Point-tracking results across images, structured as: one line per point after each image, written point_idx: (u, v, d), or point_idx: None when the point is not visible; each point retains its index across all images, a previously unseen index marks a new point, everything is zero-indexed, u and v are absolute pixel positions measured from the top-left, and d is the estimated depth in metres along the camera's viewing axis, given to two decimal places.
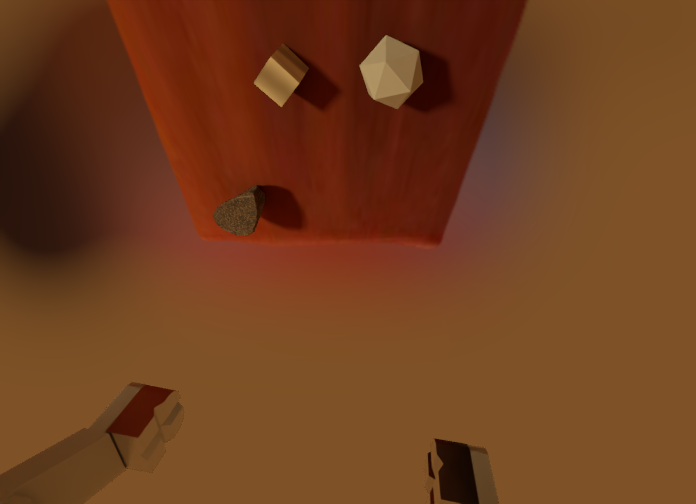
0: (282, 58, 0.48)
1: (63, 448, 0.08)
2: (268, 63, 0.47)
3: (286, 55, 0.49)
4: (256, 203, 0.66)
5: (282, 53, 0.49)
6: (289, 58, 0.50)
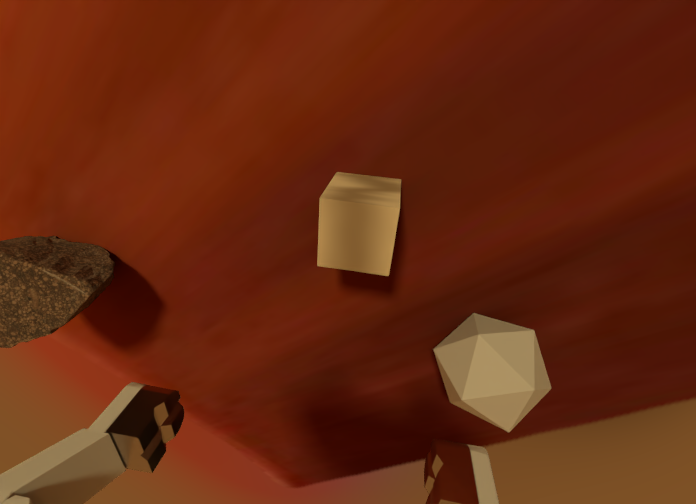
0: None
1: (63, 448, 0.08)
2: (383, 209, 0.20)
3: None
4: (79, 309, 0.28)
5: None
6: None
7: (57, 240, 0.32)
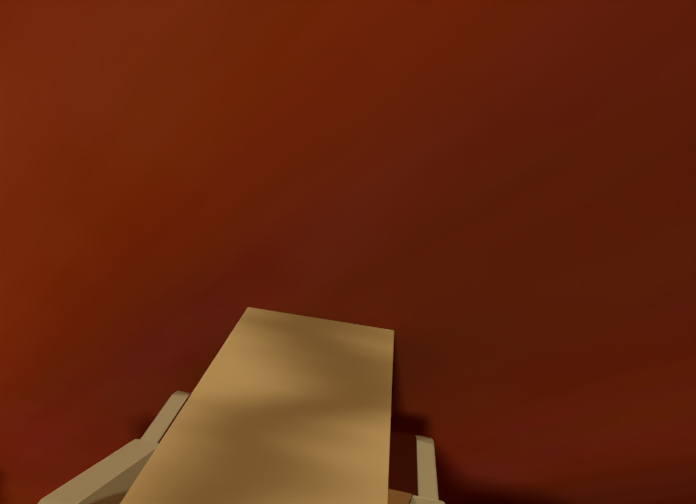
0: None
1: (118, 460, 0.08)
2: None
3: None
4: None
5: None
6: None
7: None
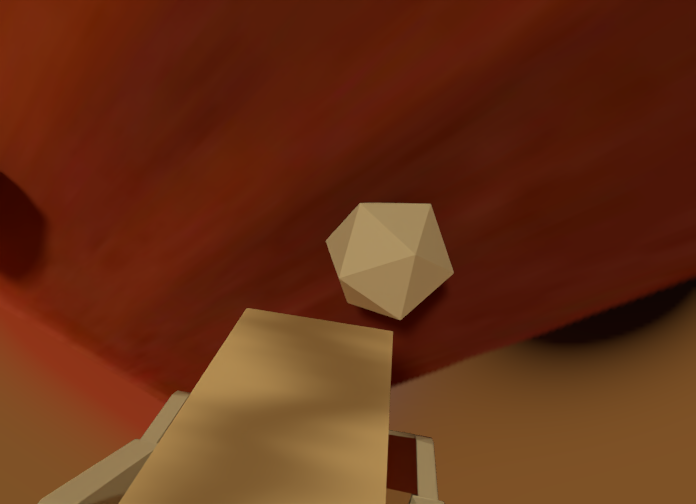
0: None
1: (118, 460, 0.08)
2: None
3: None
4: None
5: None
6: None
7: None
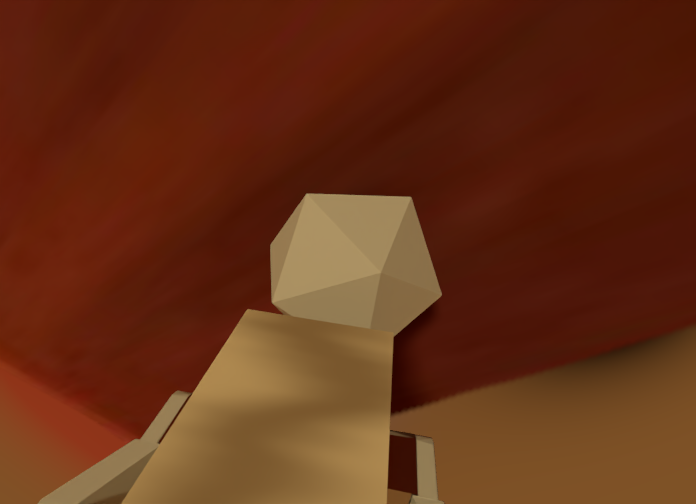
0: None
1: (118, 460, 0.08)
2: None
3: None
4: None
5: None
6: None
7: None
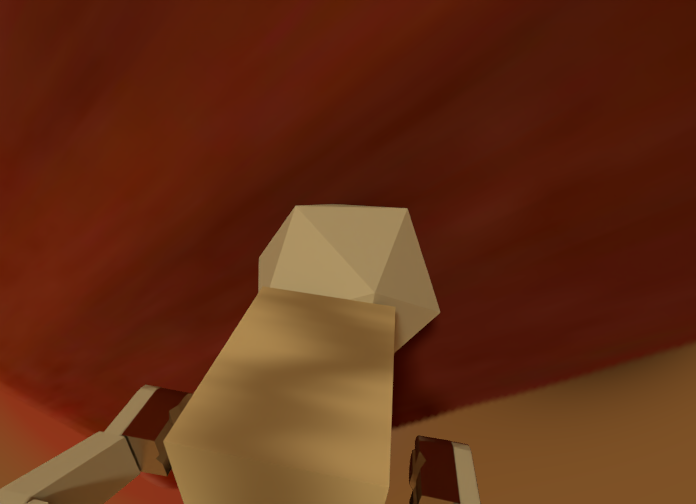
0: None
1: (80, 451, 0.08)
2: (341, 483, 0.07)
3: None
4: None
5: None
6: None
7: None
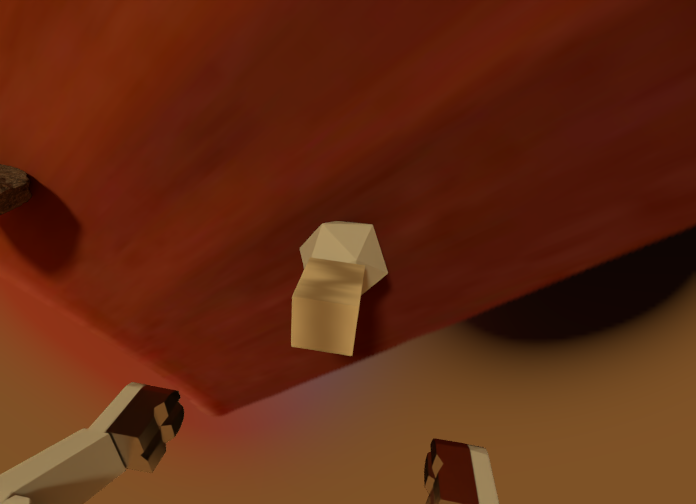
0: None
1: (63, 448, 0.08)
2: (345, 307, 0.24)
3: None
4: None
5: None
6: None
7: None
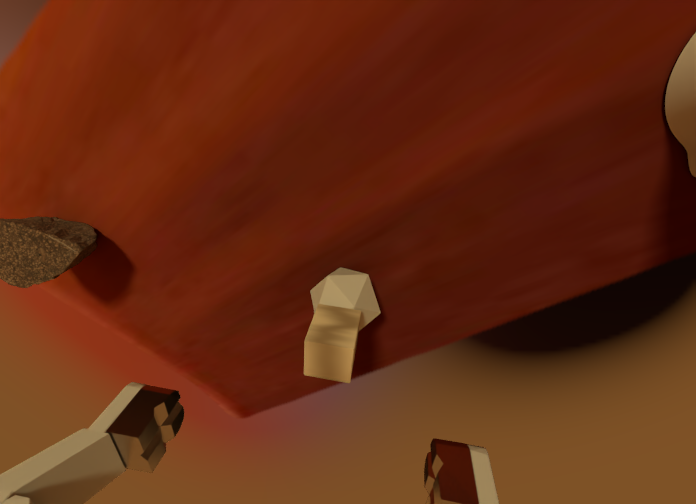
0: (355, 343, 0.35)
1: (63, 448, 0.08)
2: (343, 349, 0.33)
3: (357, 333, 0.37)
4: (72, 263, 0.42)
5: (357, 332, 0.36)
6: None
7: (57, 219, 0.46)
